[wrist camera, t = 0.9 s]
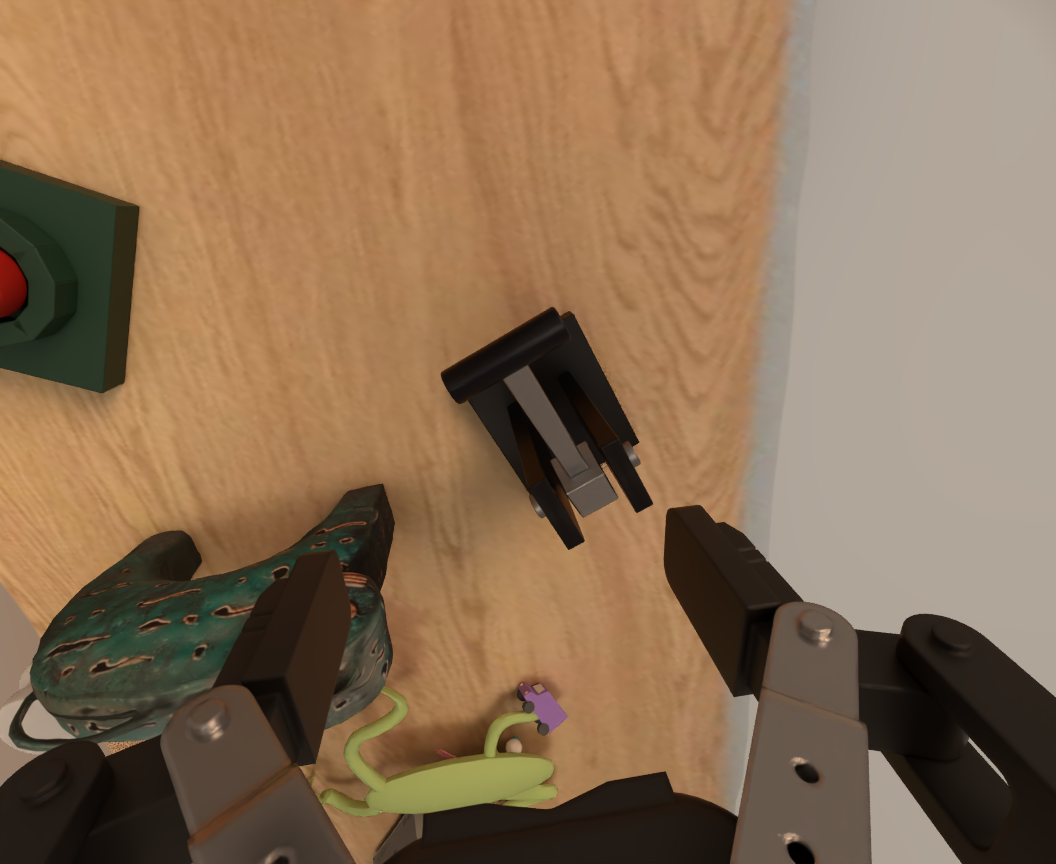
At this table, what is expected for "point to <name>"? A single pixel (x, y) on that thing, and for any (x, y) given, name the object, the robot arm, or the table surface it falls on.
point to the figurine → (456, 766)
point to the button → (11, 286)
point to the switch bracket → (584, 414)
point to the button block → (67, 279)
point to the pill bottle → (29, 717)
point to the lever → (535, 402)
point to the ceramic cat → (197, 630)
